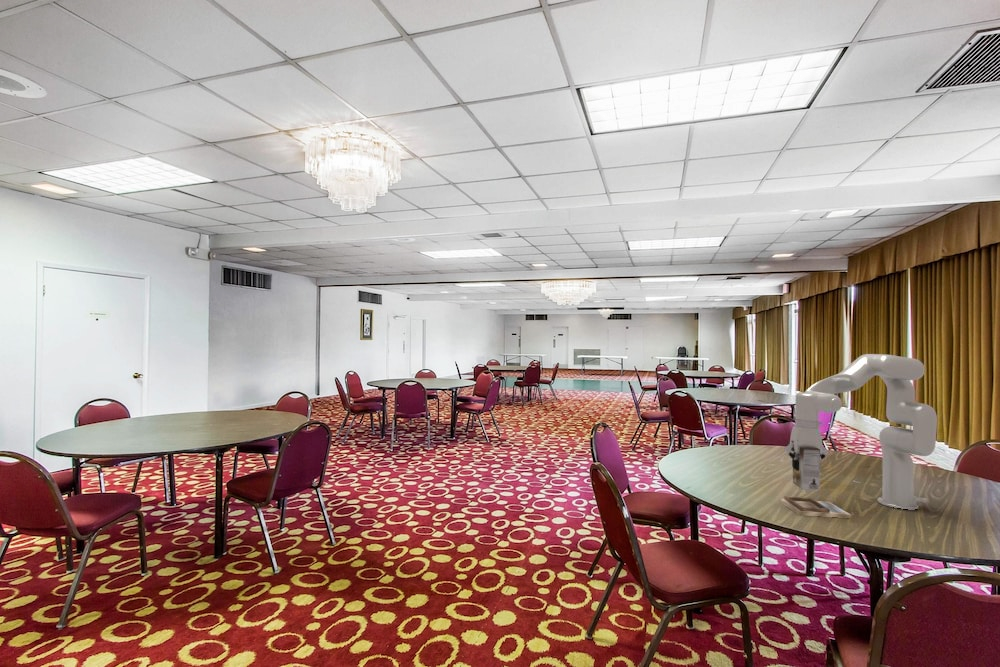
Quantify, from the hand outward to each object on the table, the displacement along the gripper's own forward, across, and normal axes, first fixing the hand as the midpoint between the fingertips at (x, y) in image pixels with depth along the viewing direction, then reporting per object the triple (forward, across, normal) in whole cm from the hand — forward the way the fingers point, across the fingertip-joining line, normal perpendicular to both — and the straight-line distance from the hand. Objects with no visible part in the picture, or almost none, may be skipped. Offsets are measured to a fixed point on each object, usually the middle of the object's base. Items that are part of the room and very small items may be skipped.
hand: (806, 469), depth 178 cm
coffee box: (+7, 0, 0) cm, 7 cm away
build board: (+15, -3, 0) cm, 16 cm away
